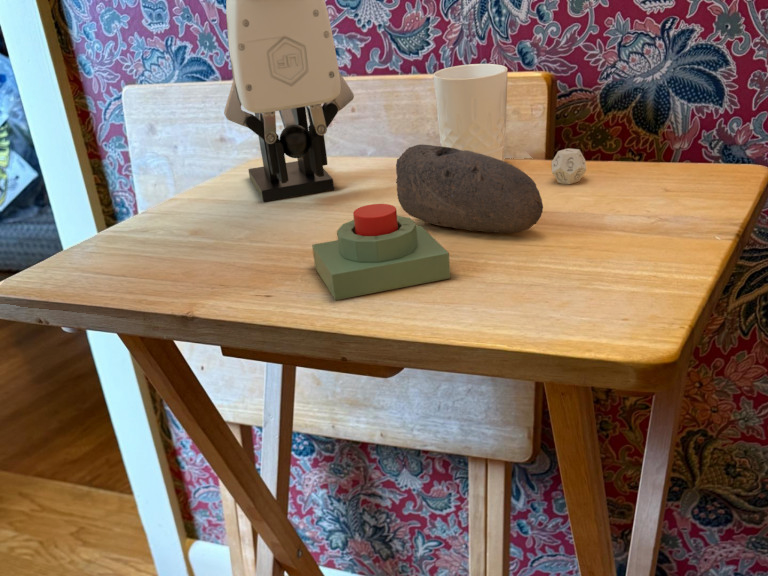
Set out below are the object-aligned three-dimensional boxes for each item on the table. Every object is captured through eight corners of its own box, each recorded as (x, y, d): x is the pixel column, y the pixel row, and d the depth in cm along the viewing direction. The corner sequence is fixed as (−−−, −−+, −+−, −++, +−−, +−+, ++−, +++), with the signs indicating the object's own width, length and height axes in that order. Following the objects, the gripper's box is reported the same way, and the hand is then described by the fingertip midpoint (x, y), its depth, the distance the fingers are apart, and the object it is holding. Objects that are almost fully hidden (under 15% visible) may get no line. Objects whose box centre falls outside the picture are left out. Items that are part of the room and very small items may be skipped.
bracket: (334, 189, 98) (318, 61, 91) (263, 202, 97) (241, 72, 89) (315, 168, 106) (299, 48, 99) (250, 179, 105) (228, 58, 97)
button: (361, 241, 73) (359, 220, 72) (351, 228, 76) (348, 208, 75) (403, 233, 74) (401, 212, 73) (391, 221, 77) (389, 201, 76)
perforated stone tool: (556, 230, 82) (557, 151, 78) (525, 249, 79) (525, 167, 75) (426, 210, 90) (422, 137, 86) (394, 226, 87) (387, 151, 83)
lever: (313, 162, 93) (313, 138, 90) (284, 167, 93) (282, 143, 90) (286, 79, 97) (285, 54, 94) (258, 83, 97) (256, 58, 94)
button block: (335, 300, 73) (328, 252, 71) (315, 269, 79) (308, 223, 77) (450, 278, 75) (448, 231, 72) (422, 249, 81) (419, 204, 79)
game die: (567, 188, 92) (568, 158, 90) (543, 181, 95) (544, 151, 93) (593, 180, 93) (594, 150, 92) (569, 174, 96) (569, 144, 94)
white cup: (518, 160, 102) (517, 63, 96) (494, 180, 96) (492, 78, 90) (454, 158, 105) (450, 64, 99) (427, 177, 99) (421, 79, 93)
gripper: (186, -12, 79) (228, 200, 90) (364, -36, 82) (384, 172, 93) (178, -18, 85) (219, 181, 96) (344, -40, 88) (365, 156, 99)
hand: (300, 175), depth 94 cm, fingers closed on lever, 3 cm apart
